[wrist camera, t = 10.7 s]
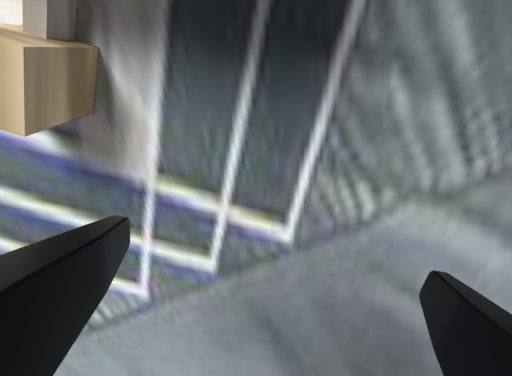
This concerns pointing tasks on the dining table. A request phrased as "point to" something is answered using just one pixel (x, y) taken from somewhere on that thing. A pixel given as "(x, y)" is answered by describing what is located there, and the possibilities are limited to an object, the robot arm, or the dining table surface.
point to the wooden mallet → (45, 69)
